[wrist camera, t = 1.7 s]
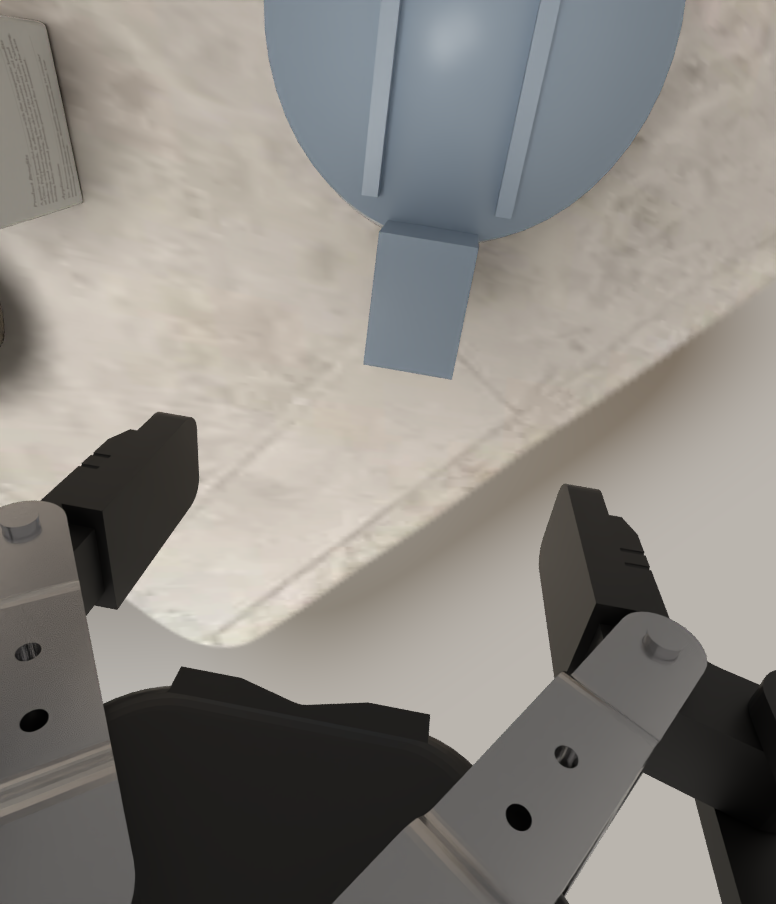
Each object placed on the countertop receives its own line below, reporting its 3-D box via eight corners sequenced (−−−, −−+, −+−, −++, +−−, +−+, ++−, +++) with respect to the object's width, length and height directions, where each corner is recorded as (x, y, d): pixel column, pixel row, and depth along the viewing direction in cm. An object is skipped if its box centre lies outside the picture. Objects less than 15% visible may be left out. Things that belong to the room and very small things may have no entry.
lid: (279, -290, 17) (238, -375, 14) (754, -229, 17) (816, -302, 14) (264, 315, 26) (237, 342, 23) (568, 367, 26) (580, 402, 23)
